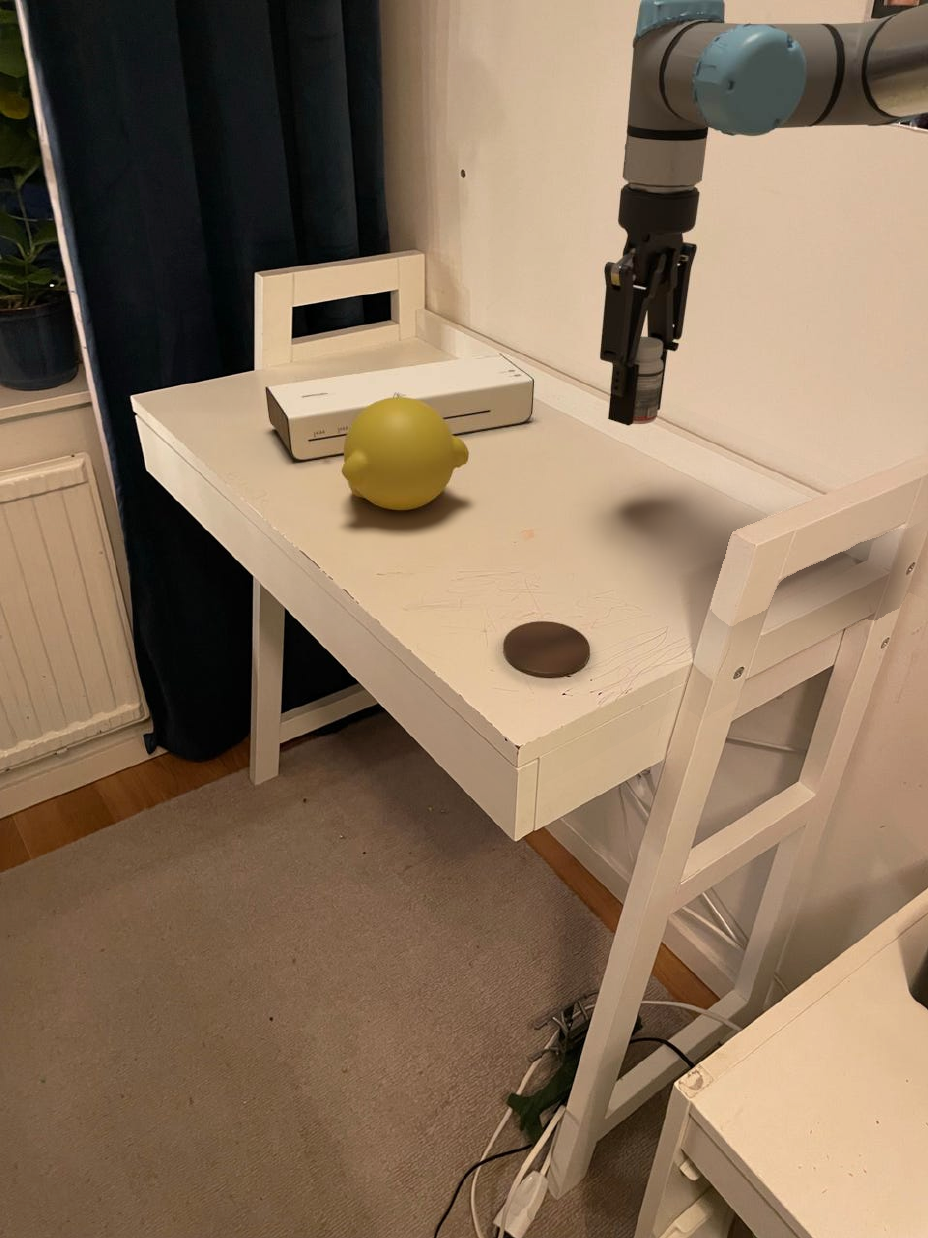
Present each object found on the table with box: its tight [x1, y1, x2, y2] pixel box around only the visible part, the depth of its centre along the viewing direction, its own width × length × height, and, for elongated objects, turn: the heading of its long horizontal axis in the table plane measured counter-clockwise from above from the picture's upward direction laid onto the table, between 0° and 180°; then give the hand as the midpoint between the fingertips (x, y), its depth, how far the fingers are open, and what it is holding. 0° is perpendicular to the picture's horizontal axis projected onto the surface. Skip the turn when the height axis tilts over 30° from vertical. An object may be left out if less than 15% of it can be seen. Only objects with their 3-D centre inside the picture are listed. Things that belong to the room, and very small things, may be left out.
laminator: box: [264, 352, 535, 462], centre depth 126 cm, size 34×12×6 cm, turn 113°
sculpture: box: [341, 397, 470, 511], centre depth 106 cm, size 15×13×13 cm
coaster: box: [502, 620, 591, 678], centre depth 87 cm, size 8×8×1 cm
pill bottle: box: [632, 335, 663, 425], centre depth 101 cm, size 5×5×8 cm
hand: (634, 413), depth 103 cm, fingers closed on pill bottle, 5 cm apart
